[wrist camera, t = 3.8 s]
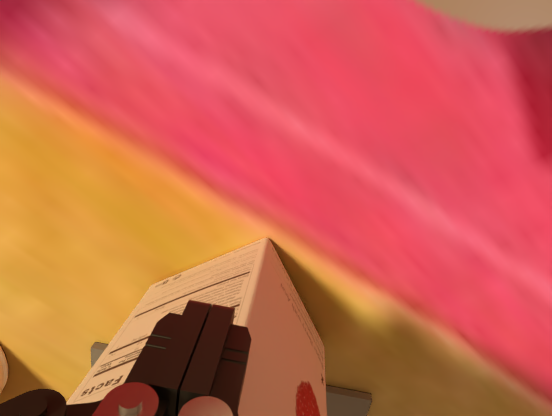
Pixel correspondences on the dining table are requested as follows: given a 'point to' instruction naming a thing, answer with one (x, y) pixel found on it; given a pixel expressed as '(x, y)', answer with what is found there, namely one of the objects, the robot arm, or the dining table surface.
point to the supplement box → (248, 312)
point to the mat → (340, 402)
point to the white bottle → (3, 369)
